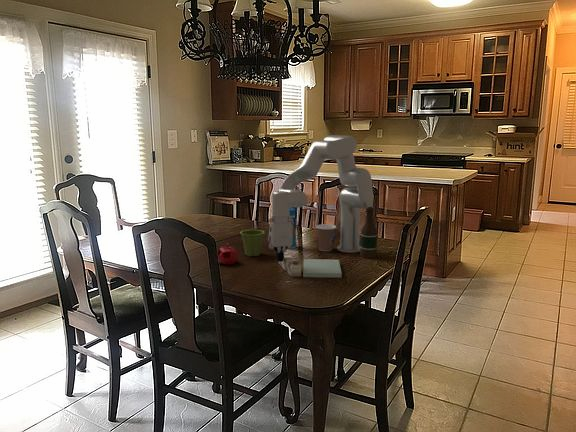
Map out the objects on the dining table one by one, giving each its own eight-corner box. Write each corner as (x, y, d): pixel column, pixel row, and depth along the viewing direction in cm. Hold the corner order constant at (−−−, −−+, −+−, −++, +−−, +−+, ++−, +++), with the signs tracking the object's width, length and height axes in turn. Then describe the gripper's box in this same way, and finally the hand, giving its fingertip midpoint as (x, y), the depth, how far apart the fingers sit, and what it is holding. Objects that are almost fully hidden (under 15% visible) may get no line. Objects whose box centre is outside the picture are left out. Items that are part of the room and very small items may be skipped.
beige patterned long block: (301, 276, 199) (301, 262, 198) (291, 276, 198) (292, 263, 196) (287, 262, 217) (287, 250, 216) (278, 263, 216) (278, 250, 215)
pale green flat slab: (303, 262, 218) (303, 259, 217) (338, 263, 217) (338, 259, 217) (303, 276, 198) (303, 272, 198) (341, 277, 197) (341, 273, 197)
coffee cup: (334, 252, 235) (335, 229, 232) (314, 251, 237) (314, 228, 234) (336, 247, 245) (337, 224, 242) (317, 246, 247) (317, 223, 244)
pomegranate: (227, 258, 225) (227, 239, 223) (243, 262, 219) (242, 242, 217) (212, 263, 217) (211, 243, 216) (227, 267, 211) (226, 247, 209)
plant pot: (268, 252, 235) (267, 230, 233) (260, 258, 224) (260, 235, 222) (245, 250, 239) (245, 228, 236) (236, 256, 227) (236, 234, 225)
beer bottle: (368, 259, 223) (370, 209, 218) (356, 256, 229) (358, 207, 224) (379, 257, 227) (381, 207, 223) (368, 253, 233) (369, 205, 229)
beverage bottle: (277, 247, 244) (277, 209, 240) (285, 244, 251) (285, 207, 247) (292, 249, 240) (292, 211, 236) (299, 246, 247) (299, 208, 243)
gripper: (268, 222, 198) (268, 265, 201) (300, 220, 205) (298, 261, 208) (261, 219, 204) (260, 260, 207) (291, 217, 211) (290, 257, 214)
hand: (279, 260), depth 208 cm, fingers closed
